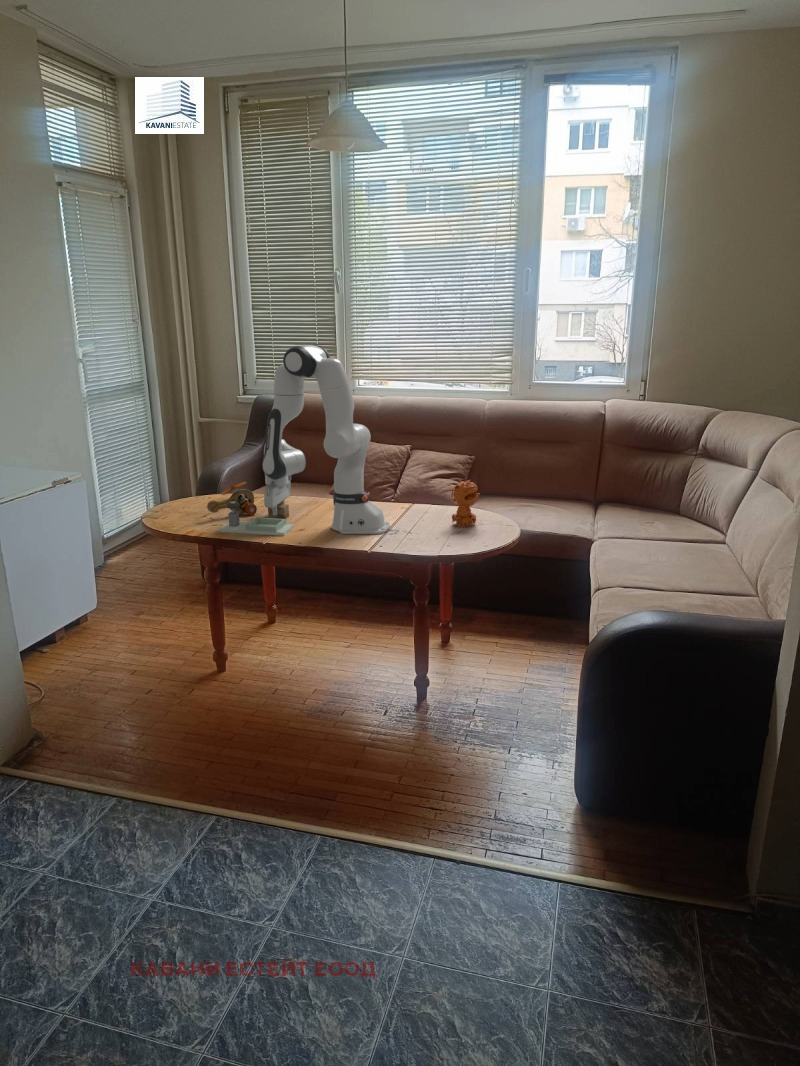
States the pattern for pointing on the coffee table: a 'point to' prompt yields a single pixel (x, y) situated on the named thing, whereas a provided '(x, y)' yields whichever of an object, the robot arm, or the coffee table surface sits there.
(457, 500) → the toy dinosaur
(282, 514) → the brown rectangular block
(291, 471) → the robot arm
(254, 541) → the coffee table surface
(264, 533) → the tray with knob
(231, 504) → the wheel knob
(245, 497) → the toy helicopter
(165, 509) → the coffee table surface
